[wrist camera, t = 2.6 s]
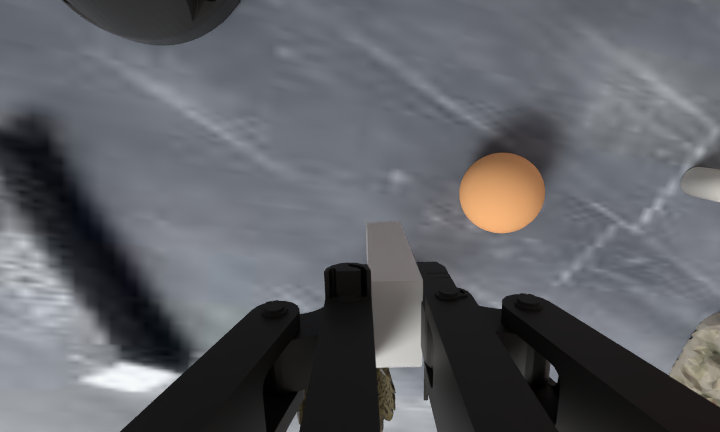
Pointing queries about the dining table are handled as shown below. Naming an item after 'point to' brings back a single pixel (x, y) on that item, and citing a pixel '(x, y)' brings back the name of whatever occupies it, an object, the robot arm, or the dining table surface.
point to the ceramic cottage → (701, 361)
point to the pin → (702, 183)
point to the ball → (502, 192)
